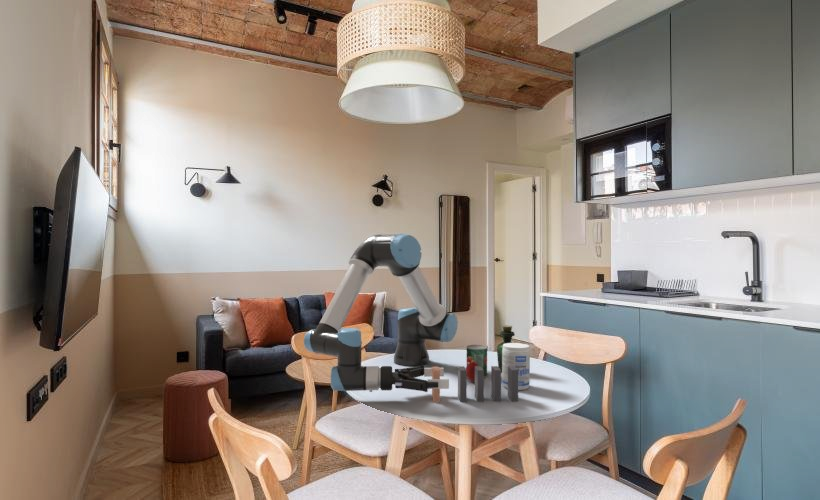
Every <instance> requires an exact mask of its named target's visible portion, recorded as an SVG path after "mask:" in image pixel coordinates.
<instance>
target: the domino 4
mask: <svg viewBox="0 0 820 500" xmlns="http://www.w3.org/2000/svg"><path fill="white" fill-rule="evenodd" d="M507 397H508V399H509V400H510V402H519V390H518V369H517V368H515V367H514V366H508V388H507Z"/></svg>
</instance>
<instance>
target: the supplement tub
mask: <svg viewBox="0 0 820 500" xmlns="http://www.w3.org/2000/svg"><path fill="white" fill-rule="evenodd" d="M502 349H503V350H502V373H501V386H502V387H503V388H505V389H508V366H514V367H515V368H517V369H518V391H523V390H527V389H529V387H530V380H531V379H530V376H531V375H530V374H531V373H530V372H531V371H530V370H531V369H530V368H531V367H530V366H531V364H530V363H531V359H530V357H531V356H530V355H531V351H530V345H529V344H526V343H520V342H512V343H505V344H503V348H502Z"/></svg>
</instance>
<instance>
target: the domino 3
mask: <svg viewBox="0 0 820 500" xmlns="http://www.w3.org/2000/svg"><path fill="white" fill-rule="evenodd" d="M490 367H491V371H490V372H491V374H490V375H491V378H490V379H491V381H490V383H491V384H490V388H491V391H490V398H492V399H493V402H495V403H496V402H497V403H498V402H502V373H501V370H500V368H499V367H498V365H494V366H493V365H492V366H490Z"/></svg>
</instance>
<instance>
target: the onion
mask: <svg viewBox="0 0 820 500" xmlns="http://www.w3.org/2000/svg"><path fill="white" fill-rule="evenodd" d="M475 366H479V365H478V364H476V363H475V362H474V361H473V360H472V361H471V363H470V364H469V365H468V366H467V365H466V366H465V369H466V370H467V380H469V381H470V382H471V383H475Z"/></svg>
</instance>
